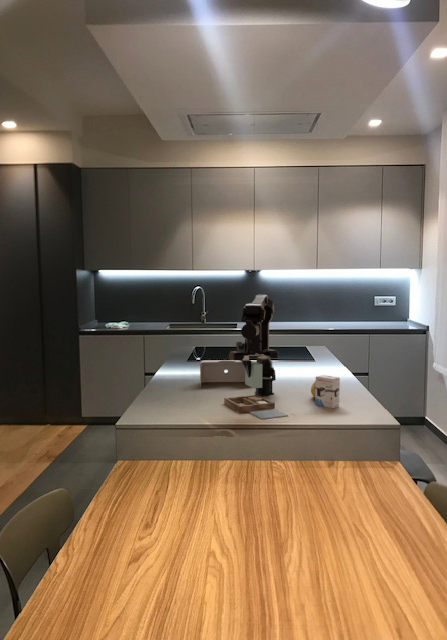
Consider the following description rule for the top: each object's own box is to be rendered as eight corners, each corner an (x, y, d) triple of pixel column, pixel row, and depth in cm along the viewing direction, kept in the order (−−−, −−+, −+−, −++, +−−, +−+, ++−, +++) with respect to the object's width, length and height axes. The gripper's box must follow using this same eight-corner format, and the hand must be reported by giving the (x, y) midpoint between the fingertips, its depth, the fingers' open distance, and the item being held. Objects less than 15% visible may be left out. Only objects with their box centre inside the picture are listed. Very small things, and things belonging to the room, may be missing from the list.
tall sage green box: (253, 383, 201) (253, 361, 200) (262, 387, 193) (262, 364, 193) (245, 384, 199) (245, 361, 199) (253, 388, 192) (253, 364, 191)
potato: (341, 398, 216) (341, 376, 216) (321, 403, 206) (321, 380, 206) (321, 395, 224) (322, 373, 223) (301, 399, 214) (301, 376, 213)
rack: (257, 400, 214) (257, 394, 213) (274, 409, 199) (274, 402, 199) (224, 404, 208) (224, 398, 208) (239, 413, 194) (239, 406, 193)
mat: (273, 409, 199) (273, 408, 199) (288, 416, 189) (288, 415, 189) (248, 412, 195) (248, 411, 195) (261, 419, 185) (261, 418, 185)
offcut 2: (263, 406, 204) (263, 400, 204) (268, 409, 200) (268, 403, 200) (256, 407, 203) (256, 401, 203) (260, 409, 199) (260, 403, 199)
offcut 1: (254, 400, 210) (254, 396, 210) (262, 402, 206) (262, 398, 206) (248, 401, 208) (248, 397, 208) (255, 403, 204) (255, 399, 204)
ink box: (314, 405, 205) (315, 376, 204) (321, 403, 209) (321, 374, 208) (332, 408, 199) (333, 378, 199) (339, 406, 203) (340, 377, 202)
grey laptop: (251, 382, 251) (251, 357, 250) (254, 389, 235) (254, 363, 234) (200, 383, 251) (200, 358, 250) (200, 390, 235) (199, 363, 234)
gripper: (266, 333, 206) (266, 372, 207) (223, 335, 199) (223, 375, 200) (279, 336, 196) (278, 376, 197) (234, 338, 189) (234, 380, 190)
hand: (253, 376), depth 196 cm, fingers closed on tall sage green box, 3 cm apart
